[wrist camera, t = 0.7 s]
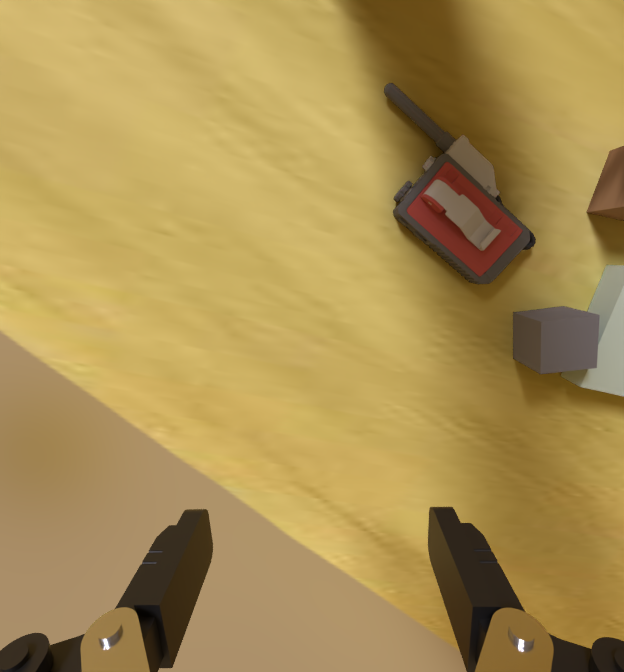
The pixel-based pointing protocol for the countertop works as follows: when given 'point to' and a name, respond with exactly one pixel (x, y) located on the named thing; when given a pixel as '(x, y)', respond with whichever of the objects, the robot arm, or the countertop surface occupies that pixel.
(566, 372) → the pedestal
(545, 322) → the charcoal block
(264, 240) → the countertop surface
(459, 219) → the walkie-talkie
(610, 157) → the walnut cube
